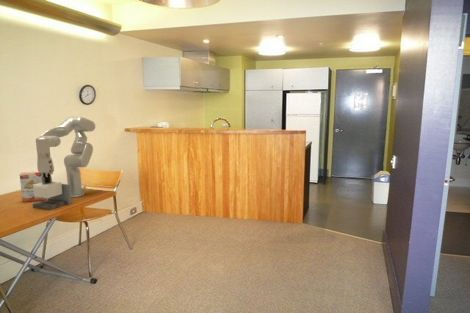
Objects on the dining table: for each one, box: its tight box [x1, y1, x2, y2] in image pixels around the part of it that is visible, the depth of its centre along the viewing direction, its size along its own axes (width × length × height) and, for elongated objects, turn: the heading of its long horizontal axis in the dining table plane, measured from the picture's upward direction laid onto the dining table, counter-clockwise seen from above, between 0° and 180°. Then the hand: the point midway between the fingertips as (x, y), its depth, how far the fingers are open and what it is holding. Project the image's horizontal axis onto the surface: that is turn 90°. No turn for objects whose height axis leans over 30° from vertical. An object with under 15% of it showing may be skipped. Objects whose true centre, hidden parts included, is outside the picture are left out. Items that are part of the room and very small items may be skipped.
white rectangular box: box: [33, 175, 63, 199], centre depth 219 cm, size 12×13×13 cm
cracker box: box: [19, 171, 47, 203], centre depth 234 cm, size 14×6×21 cm, turn 108°
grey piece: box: [32, 183, 72, 211], centre depth 222 cm, size 15×20×14 cm
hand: (46, 182), depth 219 cm, fingers closed on white rectangular box, 1 cm apart
